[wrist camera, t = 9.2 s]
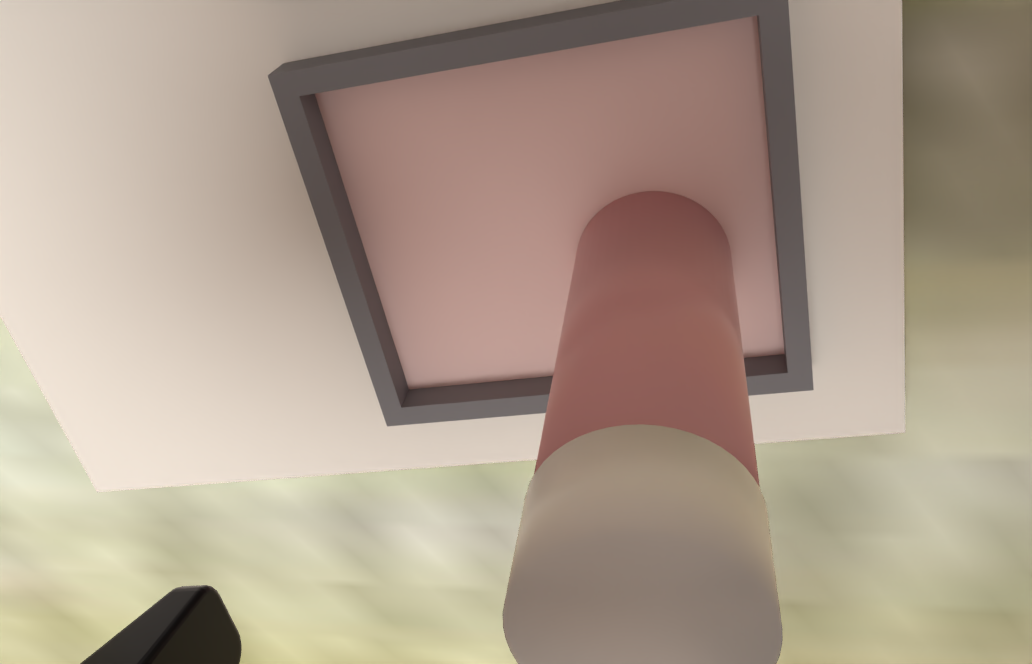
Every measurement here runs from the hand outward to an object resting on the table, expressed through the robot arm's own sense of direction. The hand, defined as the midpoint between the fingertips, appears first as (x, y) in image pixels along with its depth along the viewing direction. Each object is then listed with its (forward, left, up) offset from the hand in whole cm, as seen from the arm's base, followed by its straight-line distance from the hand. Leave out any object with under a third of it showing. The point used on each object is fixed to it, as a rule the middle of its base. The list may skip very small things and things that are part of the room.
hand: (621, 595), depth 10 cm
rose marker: (0, 0, -8) cm, 8 cm away
